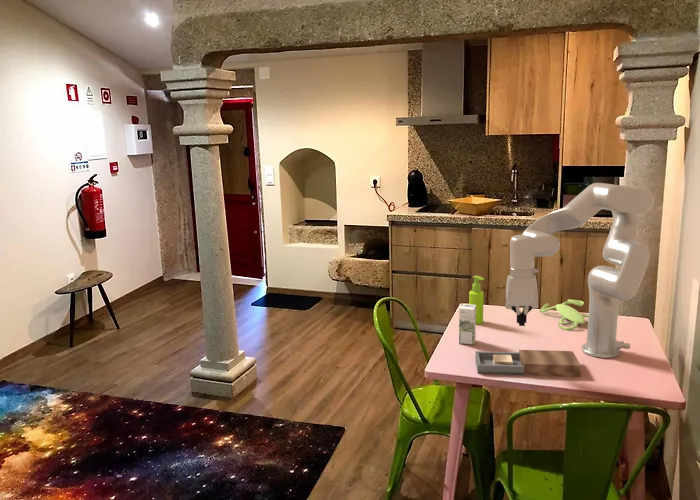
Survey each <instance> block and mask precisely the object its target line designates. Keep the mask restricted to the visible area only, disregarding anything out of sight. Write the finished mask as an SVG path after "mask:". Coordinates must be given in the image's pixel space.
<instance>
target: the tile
mask: <svg viewBox="0 0 700 500" xmlns="http://www.w3.org/2000/svg"><path fill="white" fill-rule="evenodd" d="M493 363H494V365H513V360H512V357H511V355H494V354H493Z"/></svg>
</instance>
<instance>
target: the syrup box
mask: <svg viewBox="0 0 700 500" xmlns="http://www.w3.org/2000/svg"><path fill="white" fill-rule="evenodd" d="M458 312H459V313H458V314H459V317H458V321H459V322H458V334H459V335H458V344H459V345H460V344H461V345H469V346H470V345H471V346H474V345H475V342H476V336H477V335H476V334H477V333H476V330H477V329H476V328H477V325H476V305H469V303H468V304H466V303H461V304H460V306H459V309H458Z"/></svg>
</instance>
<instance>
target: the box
mask: <svg viewBox="0 0 700 500" xmlns="http://www.w3.org/2000/svg"><path fill="white" fill-rule="evenodd" d="M493 354H494V355H511V357H512V360H513V365H494V363H493ZM474 358H475V366H476V371H477V374H481V375H505V376H506V375H510V376H511V375H512V376H514V375H515V376H525V375H524V365H521V363H520V360H519V351H517V352H516V351H514V352H513V351H511V352H510V351H480V350H479V351H477V350H476V351H475V357H474Z"/></svg>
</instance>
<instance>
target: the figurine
mask: <svg viewBox="0 0 700 500" xmlns="http://www.w3.org/2000/svg"><path fill="white" fill-rule="evenodd" d="M569 305H575V306H577V307H583V306H584V305H585V303H584V301H582V300H577V299H567V300H566V301H564V302H562V303H558V304H555V305H553V306H551V307H550V303H549V302H547V303H545V304H544V305H543V306H542V307H541V308H540V309H539V313H546V312H549V311H551V310H555V309H556V311H557V312H558V313H559V314H560V315H561V317H562V318H560V320H559V322H558V328H559V329H561V330H564V331H571V330H572V331H573V330H574V329H576V328H577V327H578V325H583V324H585V323H586V319H585V318H588V317H589V314H581V312H580V311H578V310H576V309H575V308H573V307H571V306H569ZM565 320H567V321H568V322H564V321H565ZM562 324H563V325H566V324H571V325H573V326H569V327H566V326H565V327H564V326H562Z"/></svg>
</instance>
